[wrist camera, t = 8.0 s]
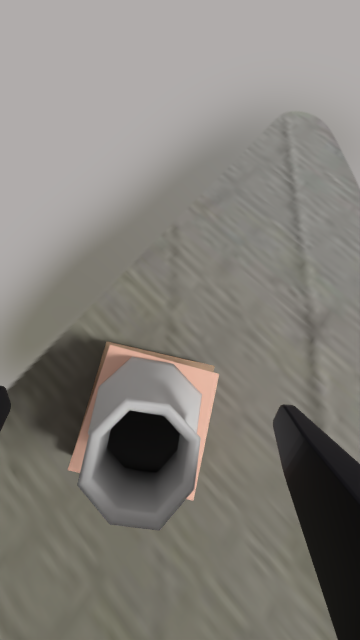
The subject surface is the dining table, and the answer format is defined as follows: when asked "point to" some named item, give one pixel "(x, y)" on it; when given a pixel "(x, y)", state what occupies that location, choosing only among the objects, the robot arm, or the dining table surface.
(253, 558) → the dining table surface
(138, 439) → the flask
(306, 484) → the robot arm
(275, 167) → the dining table surface
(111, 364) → the terracotta slab
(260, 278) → the dining table surface
